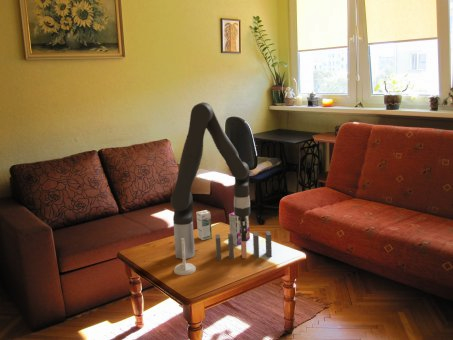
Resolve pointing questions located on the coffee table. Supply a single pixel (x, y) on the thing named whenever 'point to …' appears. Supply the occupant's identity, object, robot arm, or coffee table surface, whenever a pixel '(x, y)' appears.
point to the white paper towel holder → (184, 264)
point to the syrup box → (204, 224)
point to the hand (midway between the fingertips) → (242, 237)
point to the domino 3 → (243, 249)
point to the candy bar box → (237, 229)
